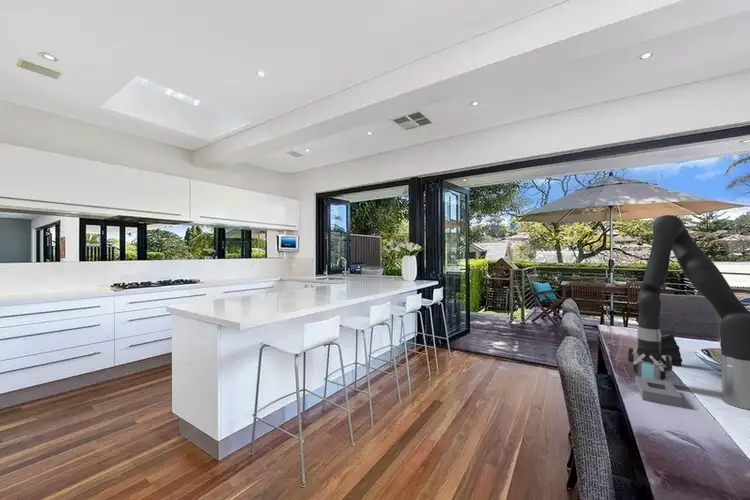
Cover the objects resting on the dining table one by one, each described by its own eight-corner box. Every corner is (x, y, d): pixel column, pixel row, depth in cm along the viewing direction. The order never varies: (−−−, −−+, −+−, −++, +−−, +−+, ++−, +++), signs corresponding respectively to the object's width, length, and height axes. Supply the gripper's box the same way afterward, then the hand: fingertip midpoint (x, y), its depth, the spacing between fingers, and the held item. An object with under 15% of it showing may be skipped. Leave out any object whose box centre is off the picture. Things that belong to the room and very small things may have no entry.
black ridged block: (691, 365, 149) (672, 334, 153) (657, 371, 156) (640, 341, 160) (690, 363, 152) (671, 332, 156) (657, 369, 159) (640, 340, 163)
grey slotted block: (635, 384, 132) (635, 376, 132) (670, 390, 127) (670, 381, 127) (642, 399, 119) (642, 390, 119) (682, 407, 113) (682, 397, 113)
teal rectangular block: (657, 383, 134) (657, 364, 134) (653, 385, 131) (653, 366, 131) (645, 379, 137) (645, 361, 137) (641, 381, 135) (641, 363, 135)
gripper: (674, 340, 130) (674, 380, 130) (632, 333, 142) (632, 369, 142) (667, 343, 126) (668, 384, 126) (625, 335, 138) (625, 372, 138)
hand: (649, 376), depth 134 cm, fingers open, 8 cm apart
